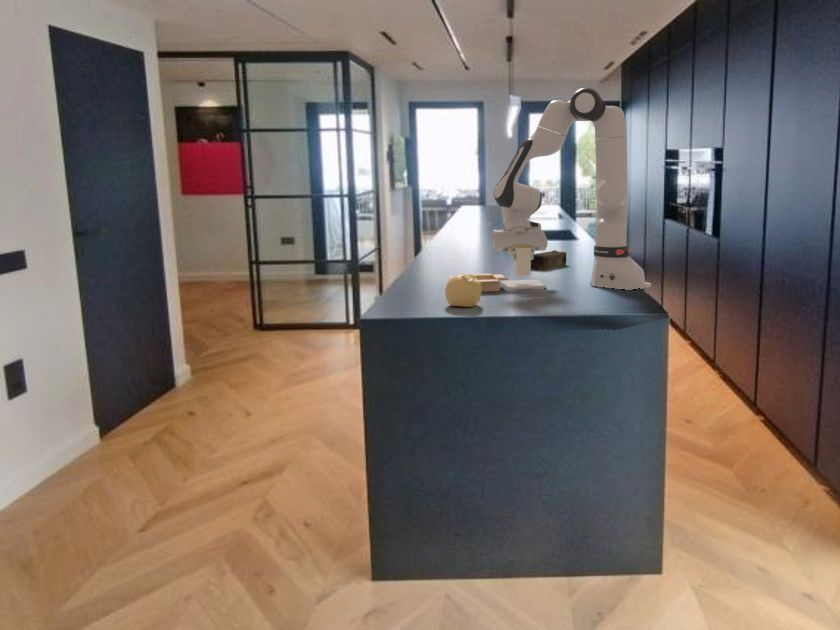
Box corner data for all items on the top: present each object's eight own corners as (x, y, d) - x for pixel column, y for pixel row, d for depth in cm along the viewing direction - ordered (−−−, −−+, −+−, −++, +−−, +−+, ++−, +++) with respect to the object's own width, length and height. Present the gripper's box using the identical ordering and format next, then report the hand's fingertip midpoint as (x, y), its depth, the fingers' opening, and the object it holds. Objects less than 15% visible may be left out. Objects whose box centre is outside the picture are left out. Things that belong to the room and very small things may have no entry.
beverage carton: (567, 265, 328) (567, 250, 327) (542, 271, 314) (543, 255, 313) (551, 264, 333) (551, 249, 332) (526, 269, 319) (527, 254, 318)
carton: (446, 287, 281) (446, 275, 280) (499, 284, 283) (499, 273, 282) (453, 295, 264) (453, 282, 264) (509, 292, 266) (509, 280, 266)
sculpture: (484, 308, 241) (484, 275, 239) (447, 310, 240) (447, 276, 238) (479, 301, 252) (479, 270, 250) (443, 303, 251) (443, 271, 249)
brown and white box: (513, 273, 280) (514, 244, 278) (527, 273, 281) (528, 244, 278) (516, 275, 275) (517, 245, 273) (530, 275, 276) (531, 245, 274)
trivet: (500, 284, 285) (500, 280, 285) (536, 282, 286) (536, 279, 286) (508, 290, 271) (508, 287, 271) (546, 288, 273) (546, 285, 272)
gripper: (491, 224, 280) (496, 254, 272) (544, 223, 282) (551, 252, 275) (488, 235, 285) (493, 264, 278) (541, 234, 287) (547, 263, 280)
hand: (523, 258), depth 276 cm, fingers closed on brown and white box, 5 cm apart
